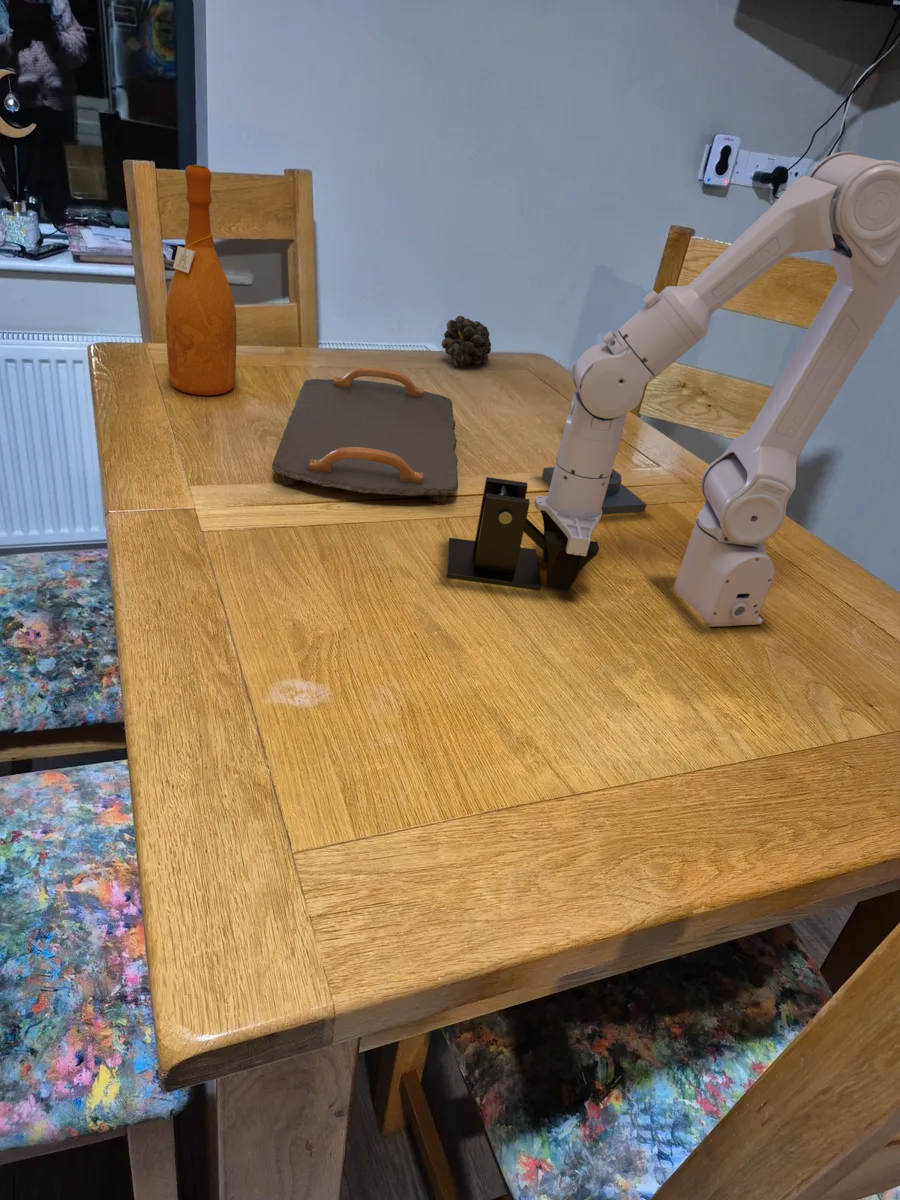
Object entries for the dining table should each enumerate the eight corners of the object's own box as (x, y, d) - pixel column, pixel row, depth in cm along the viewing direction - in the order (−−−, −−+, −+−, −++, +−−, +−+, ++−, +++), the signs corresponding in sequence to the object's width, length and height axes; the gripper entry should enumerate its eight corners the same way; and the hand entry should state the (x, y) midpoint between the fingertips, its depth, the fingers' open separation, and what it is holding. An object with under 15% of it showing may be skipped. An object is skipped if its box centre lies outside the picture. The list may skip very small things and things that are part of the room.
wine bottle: (167, 374, 127) (157, 155, 111) (233, 376, 131) (233, 164, 114) (169, 397, 120) (159, 166, 104) (239, 399, 123) (240, 175, 107)
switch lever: (548, 552, 93) (564, 539, 92) (551, 575, 88) (569, 561, 87) (486, 493, 89) (503, 479, 88) (487, 514, 85) (504, 499, 84)
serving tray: (304, 390, 130) (306, 350, 127) (451, 408, 132) (456, 370, 129) (264, 499, 97) (265, 450, 94) (458, 522, 100) (466, 475, 96)
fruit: (518, 342, 157) (484, 332, 144) (495, 379, 161) (459, 374, 147) (485, 317, 159) (448, 305, 146) (462, 354, 163) (424, 346, 150)
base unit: (643, 515, 109) (650, 491, 107) (584, 520, 105) (591, 495, 103) (596, 476, 118) (602, 453, 116) (541, 478, 114) (546, 455, 112)
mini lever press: (534, 558, 95) (552, 480, 89) (538, 595, 88) (558, 513, 83) (447, 546, 94) (460, 467, 89) (445, 583, 87) (459, 499, 82)
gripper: (540, 434, 90) (515, 542, 97) (550, 491, 78) (521, 610, 85) (603, 444, 91) (574, 551, 98) (623, 502, 78) (588, 620, 86)
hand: (554, 579), depth 92 cm, fingers closed on switch lever, 5 cm apart
